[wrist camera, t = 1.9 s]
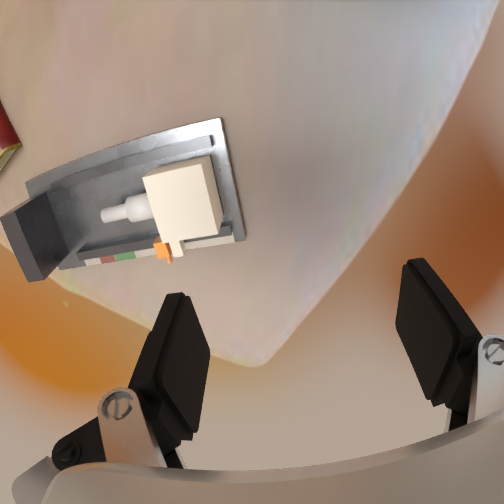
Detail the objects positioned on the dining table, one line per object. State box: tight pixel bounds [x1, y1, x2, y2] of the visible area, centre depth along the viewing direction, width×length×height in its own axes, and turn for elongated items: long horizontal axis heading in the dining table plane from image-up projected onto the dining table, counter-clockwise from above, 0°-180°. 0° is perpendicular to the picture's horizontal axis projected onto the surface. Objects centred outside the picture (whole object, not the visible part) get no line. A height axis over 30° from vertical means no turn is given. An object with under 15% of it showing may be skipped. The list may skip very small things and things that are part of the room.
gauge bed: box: [0, 118, 246, 282], centre depth 26 cm, size 24×12×7 cm, turn 100°
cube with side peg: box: [101, 154, 223, 257], centre depth 26 cm, size 11×8×4 cm
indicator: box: [153, 236, 172, 264], centre depth 28 cm, size 1×3×2 cm, turn 10°
